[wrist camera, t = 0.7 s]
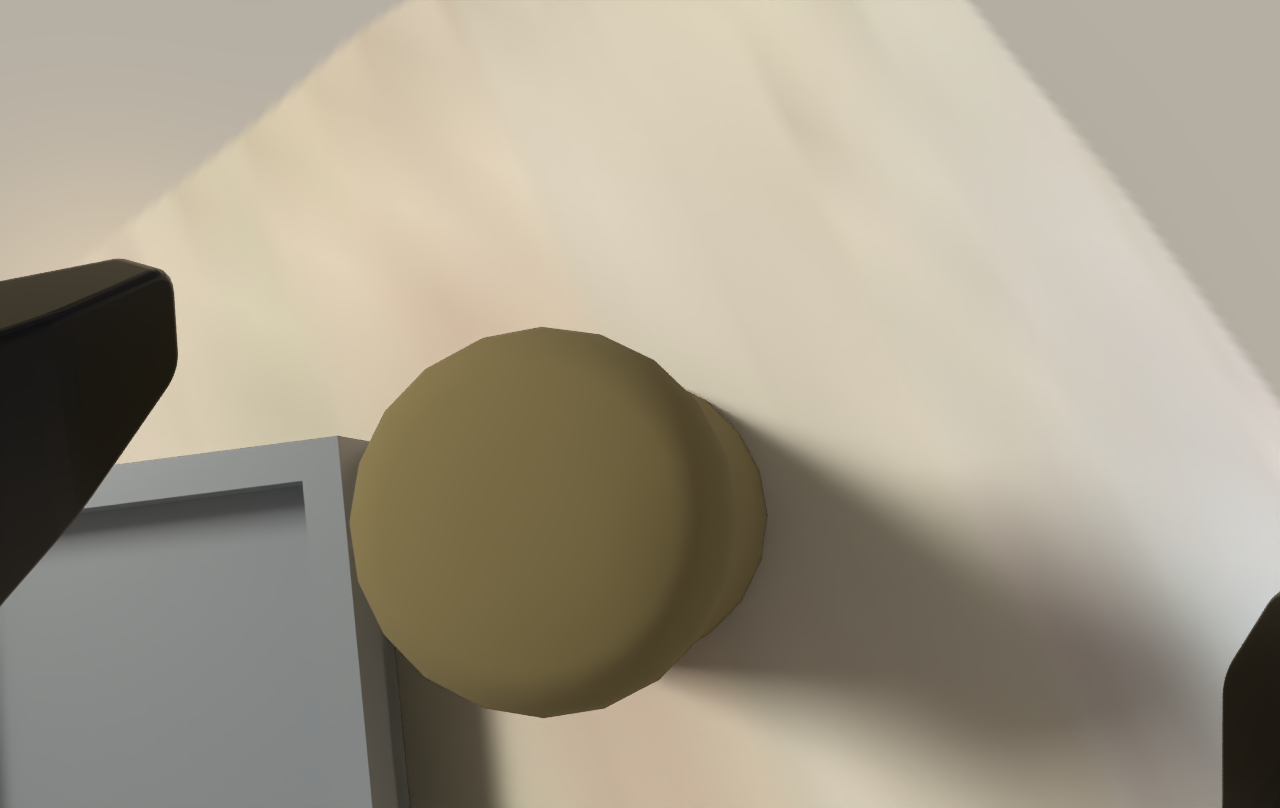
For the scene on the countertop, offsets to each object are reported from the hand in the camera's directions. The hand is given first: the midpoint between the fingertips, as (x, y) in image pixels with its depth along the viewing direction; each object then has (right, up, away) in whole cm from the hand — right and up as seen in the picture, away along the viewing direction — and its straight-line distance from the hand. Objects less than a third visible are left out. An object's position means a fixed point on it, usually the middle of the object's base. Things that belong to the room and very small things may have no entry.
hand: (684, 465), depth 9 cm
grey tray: (-11, -6, +17) cm, 21 cm away
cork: (-1, -2, +16) cm, 16 cm away
